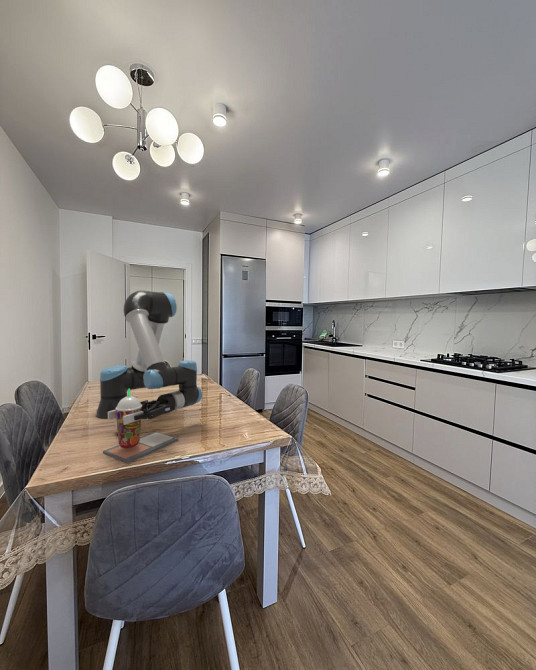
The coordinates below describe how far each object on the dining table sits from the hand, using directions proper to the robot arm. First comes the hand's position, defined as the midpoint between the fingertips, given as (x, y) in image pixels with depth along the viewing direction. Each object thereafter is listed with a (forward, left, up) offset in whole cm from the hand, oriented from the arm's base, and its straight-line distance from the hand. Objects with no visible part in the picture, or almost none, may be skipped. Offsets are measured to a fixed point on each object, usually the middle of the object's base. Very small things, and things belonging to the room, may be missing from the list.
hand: (116, 418), depth 95 cm
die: (-17, +15, -14) cm, 26 cm away
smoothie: (0, +5, -11) cm, 12 cm away
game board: (0, +10, -13) cm, 17 cm away
